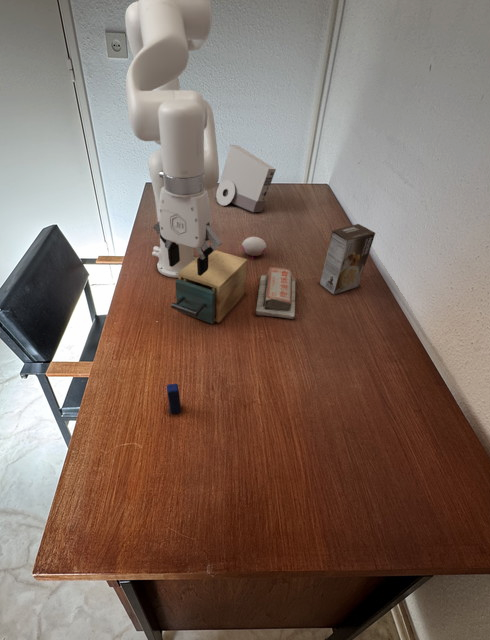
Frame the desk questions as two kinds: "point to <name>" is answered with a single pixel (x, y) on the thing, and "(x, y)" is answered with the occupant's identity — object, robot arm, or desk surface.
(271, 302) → the packaged product
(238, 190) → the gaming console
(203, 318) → the drawer
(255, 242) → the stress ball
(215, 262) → the cabinet
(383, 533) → the desk surface
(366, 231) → the coffee box
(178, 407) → the eraser
